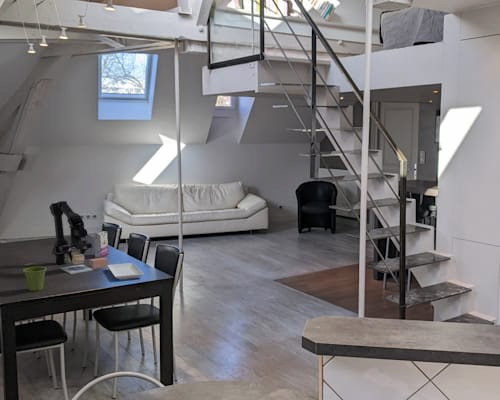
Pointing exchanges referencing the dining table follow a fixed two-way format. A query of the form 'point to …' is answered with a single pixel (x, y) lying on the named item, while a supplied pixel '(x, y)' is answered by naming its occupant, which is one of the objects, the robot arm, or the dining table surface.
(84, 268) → the blueprint board
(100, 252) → the candy bar box
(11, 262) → the dining table surface
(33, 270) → the plant pot
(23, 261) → the dining table surface
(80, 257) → the brick
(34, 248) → the dining table surface
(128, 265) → the tray
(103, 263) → the brick
